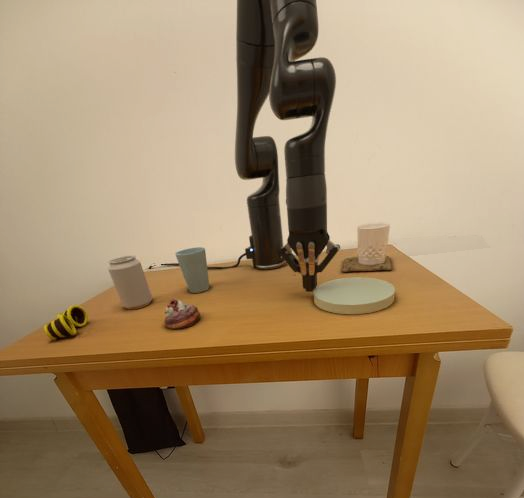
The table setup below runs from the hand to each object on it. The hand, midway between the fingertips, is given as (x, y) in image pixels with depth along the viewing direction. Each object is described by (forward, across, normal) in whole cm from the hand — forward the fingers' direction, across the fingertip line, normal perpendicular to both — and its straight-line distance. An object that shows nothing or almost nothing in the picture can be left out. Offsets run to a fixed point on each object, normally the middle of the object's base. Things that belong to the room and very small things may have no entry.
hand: (310, 290), depth 65 cm
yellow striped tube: (+2, +48, +26) cm, 54 cm away
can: (+2, +43, +10) cm, 44 cm away
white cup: (+2, -10, -25) cm, 27 cm away
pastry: (+2, +23, +16) cm, 28 cm away
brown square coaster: (+1, -8, -24) cm, 26 cm away
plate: (+2, -9, 0) cm, 9 cm away
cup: (+2, +32, -3) cm, 32 cm away
